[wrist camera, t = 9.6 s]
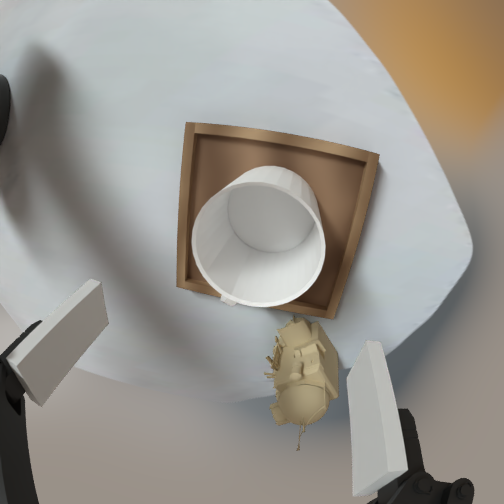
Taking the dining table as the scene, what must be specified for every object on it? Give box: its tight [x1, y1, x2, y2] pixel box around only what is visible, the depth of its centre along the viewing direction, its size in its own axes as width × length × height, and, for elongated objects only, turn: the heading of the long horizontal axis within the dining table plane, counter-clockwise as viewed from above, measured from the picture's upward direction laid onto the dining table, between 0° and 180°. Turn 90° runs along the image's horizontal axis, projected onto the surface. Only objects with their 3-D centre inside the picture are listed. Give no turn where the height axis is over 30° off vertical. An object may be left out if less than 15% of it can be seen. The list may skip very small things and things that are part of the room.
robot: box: [264, 315, 339, 450], centre depth 28 cm, size 10×8×15 cm
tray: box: [177, 122, 380, 319], centre depth 28 cm, size 18×18×2 cm
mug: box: [192, 166, 325, 307], centre depth 24 cm, size 12×9×9 cm
